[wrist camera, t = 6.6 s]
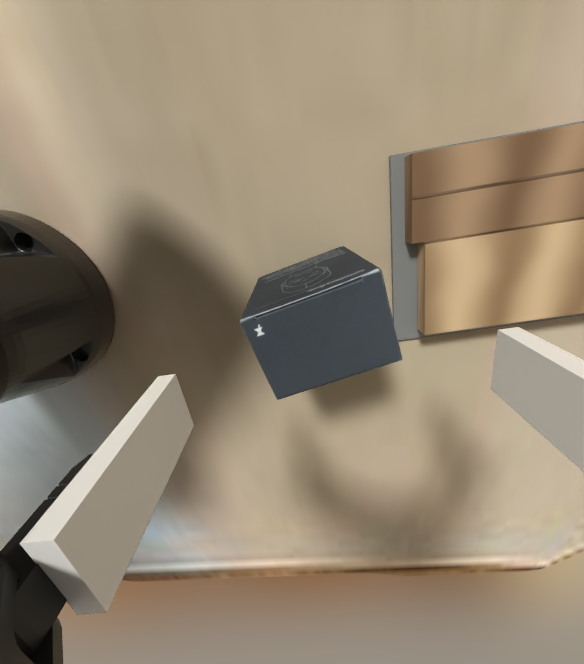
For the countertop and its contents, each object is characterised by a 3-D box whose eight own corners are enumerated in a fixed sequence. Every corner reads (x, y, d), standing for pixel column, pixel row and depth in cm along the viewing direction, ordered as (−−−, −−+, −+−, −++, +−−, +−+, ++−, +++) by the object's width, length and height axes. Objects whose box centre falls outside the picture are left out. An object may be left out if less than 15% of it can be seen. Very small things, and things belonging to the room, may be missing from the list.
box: (281, 333, 27) (275, 403, 17) (257, 276, 25) (234, 319, 15) (363, 305, 26) (406, 362, 16) (345, 243, 24) (382, 266, 14)
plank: (417, 329, 26) (424, 335, 24) (417, 240, 23) (425, 241, 22) (704, 288, 24) (729, 292, 23) (739, 188, 22) (770, 186, 20)
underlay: (393, 339, 27) (394, 340, 27) (389, 156, 21) (390, 155, 21) (715, 294, 25) (720, 295, 25) (806, 82, 19) (813, 80, 19)
